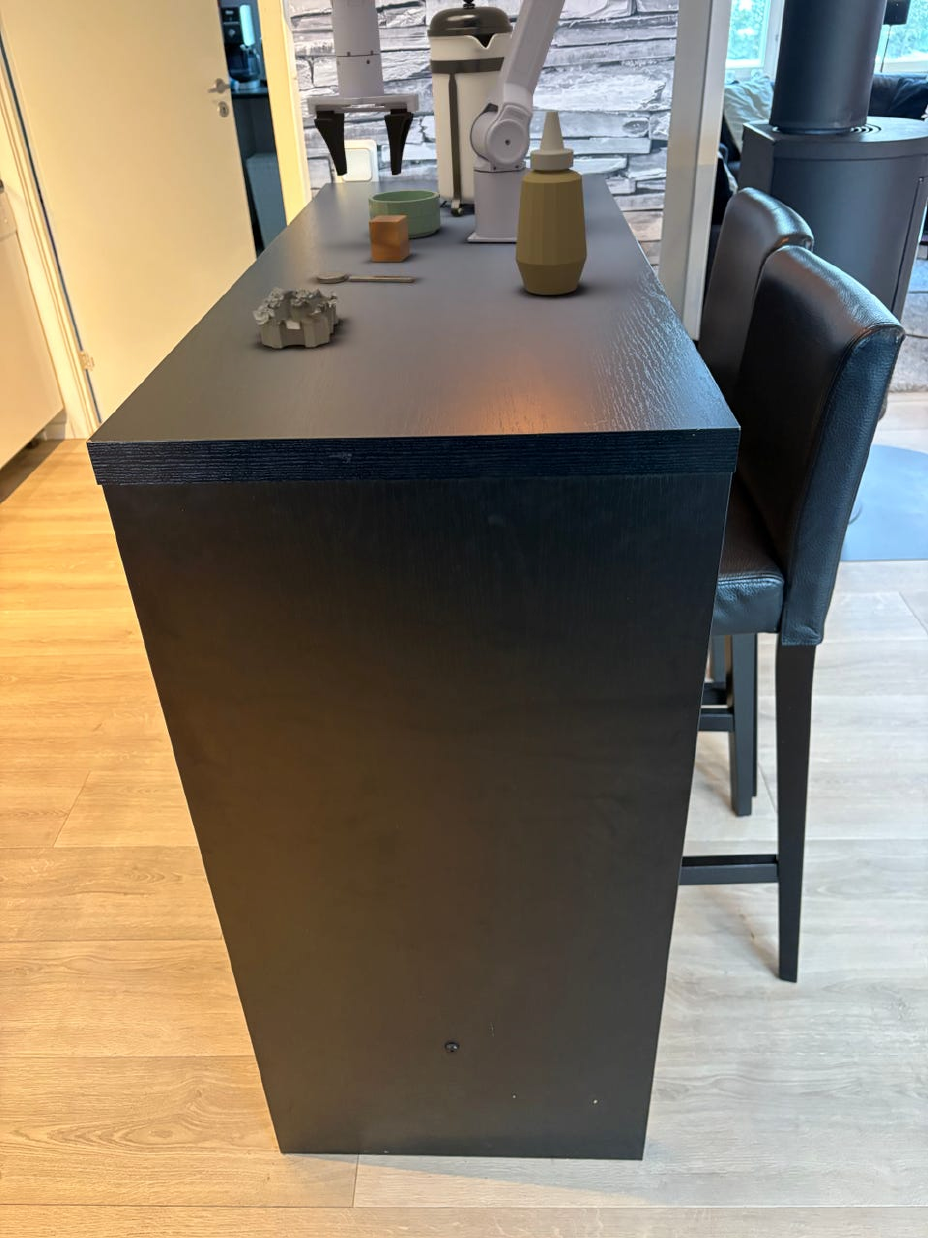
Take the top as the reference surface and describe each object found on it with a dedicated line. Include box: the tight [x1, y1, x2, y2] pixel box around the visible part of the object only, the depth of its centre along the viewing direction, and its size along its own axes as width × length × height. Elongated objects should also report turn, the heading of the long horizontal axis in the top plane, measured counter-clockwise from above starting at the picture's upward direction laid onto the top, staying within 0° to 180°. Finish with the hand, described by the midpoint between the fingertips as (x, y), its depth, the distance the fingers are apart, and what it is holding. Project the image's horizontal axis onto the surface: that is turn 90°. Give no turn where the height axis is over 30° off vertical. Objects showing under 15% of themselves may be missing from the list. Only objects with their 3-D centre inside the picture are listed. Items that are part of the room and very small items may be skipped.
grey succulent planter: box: [252, 286, 339, 349], centre depth 95 cm, size 11×8×4 cm
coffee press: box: [426, 0, 514, 217], centre depth 144 cm, size 17×16×30 cm
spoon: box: [316, 270, 415, 284], centre depth 114 cm, size 12×4×1 cm, turn 76°
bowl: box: [368, 189, 442, 239], centre depth 136 cm, size 10×10×5 cm
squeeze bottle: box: [515, 110, 588, 296], centre depth 102 cm, size 8×8×18 cm
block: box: [368, 215, 411, 263], centre depth 122 cm, size 4×4×5 cm
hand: (369, 174), depth 124 cm, fingers open, 7 cm apart
